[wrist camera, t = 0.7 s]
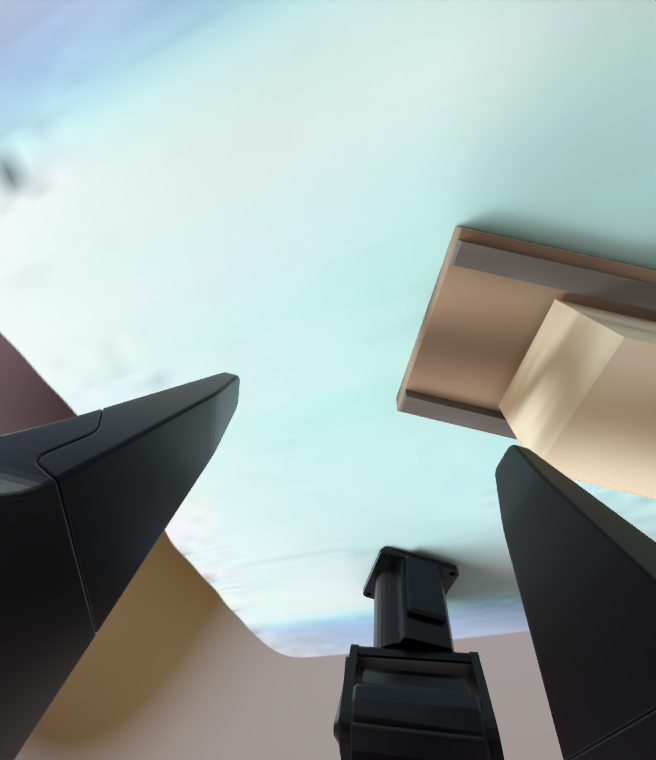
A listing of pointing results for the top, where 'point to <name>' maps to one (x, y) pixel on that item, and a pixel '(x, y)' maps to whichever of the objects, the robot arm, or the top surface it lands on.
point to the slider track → (503, 320)
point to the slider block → (589, 397)
